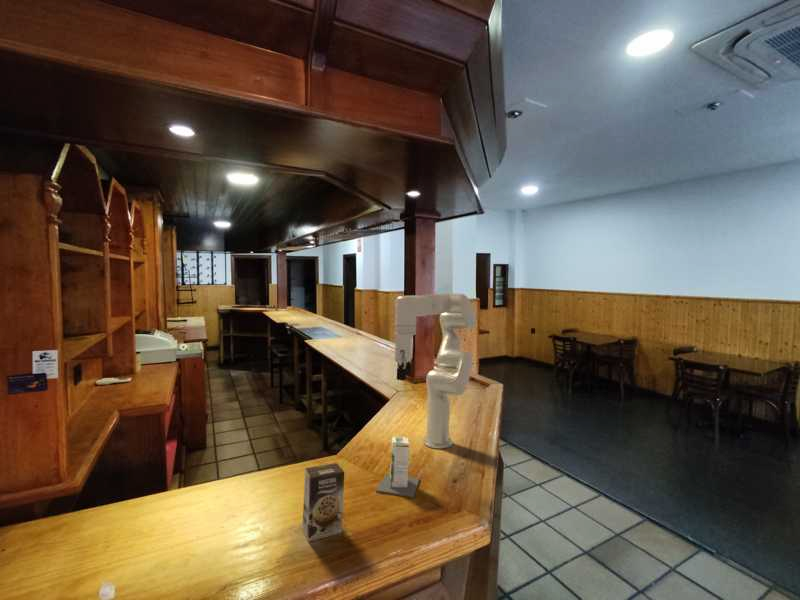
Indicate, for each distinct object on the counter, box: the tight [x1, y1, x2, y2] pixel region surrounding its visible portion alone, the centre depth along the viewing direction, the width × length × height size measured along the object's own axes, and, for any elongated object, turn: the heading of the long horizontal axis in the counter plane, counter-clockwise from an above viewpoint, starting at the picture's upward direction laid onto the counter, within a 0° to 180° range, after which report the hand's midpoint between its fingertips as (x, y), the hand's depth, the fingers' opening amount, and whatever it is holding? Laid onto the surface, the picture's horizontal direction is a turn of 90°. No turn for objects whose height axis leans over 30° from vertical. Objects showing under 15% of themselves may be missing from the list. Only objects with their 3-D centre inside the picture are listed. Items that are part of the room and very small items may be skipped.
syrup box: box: [389, 436, 410, 488], centre depth 124 cm, size 6×6×14 cm
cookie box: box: [302, 462, 345, 542], centre depth 99 cm, size 9×6×16 cm
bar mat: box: [375, 473, 421, 498], centre depth 124 cm, size 12×12×1 cm
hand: (404, 377), depth 137 cm, fingers open, 9 cm apart
